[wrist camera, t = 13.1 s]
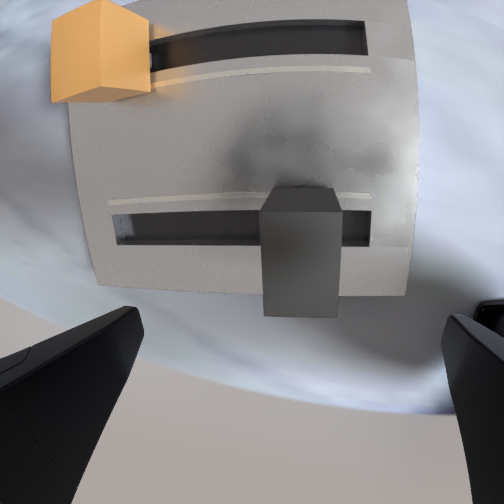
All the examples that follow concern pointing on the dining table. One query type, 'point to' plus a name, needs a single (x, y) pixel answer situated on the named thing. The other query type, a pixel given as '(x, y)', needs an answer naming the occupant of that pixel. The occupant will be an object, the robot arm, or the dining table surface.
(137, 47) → the orange fader
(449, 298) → the dining table surface
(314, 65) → the panel
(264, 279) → the black fader
